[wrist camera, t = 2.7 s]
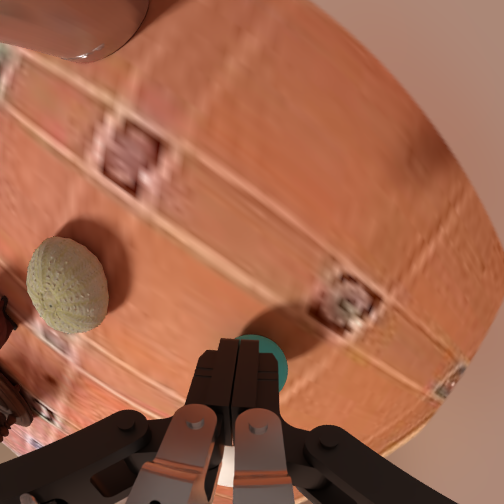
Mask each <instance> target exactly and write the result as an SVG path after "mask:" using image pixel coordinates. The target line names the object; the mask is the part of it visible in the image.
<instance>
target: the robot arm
mask: <svg viewBox="0 0 504 504" xmlns="http://www.w3.org/2000/svg"><path fill="white" fill-rule="evenodd" d="M148 3H149V0H0V42H1V43H6V44H10V45H15V46H19V47H23V48H27V49H31V50H35V51H39V52H42V53H46V54H49V55H53V56H56V57H60V58H61V59H64V60H70V61H73V62H76V63H89V62H94V61H97V60H100V59H102V58H105V57H106V56H108V55H110V54H112V53H113V52H115V51H116V50H117V49H119V48H120V47H121V46H123V45H124V44H125V43H126V42H127V41H128V40H129V39H130V38H131V37H132V36H133V34H134V33H135V32H136V30H137V29H138V28H139V26H140V24H141V23H142V21H143V19H144V17H145V14H146V12H147V9H148ZM232 440H233V445H234V446H235V458H234V478H233V504H295V502H294V494H293V486H296V488H297V489H298V490H299V491H300V492H301V493H302V494H303V495H304V496H305V497H306V498H307V499H308V500H310V501H311V502H312V503H313V504H457V503H456V502H454V501H452V500H451V499H449V498H447V497H445V496H444V495H442V494H440V493H438V492H437V491H435V490H433V489H432V488H430V487H428V486H427V485H425V484H423V483H422V482H420V481H419V480H417V479H415V478H414V477H412V476H410V475H409V474H408V473H406V472H404V471H403V470H401V469H400V468H398V467H397V466H395V465H393V464H392V463H391V462H389V461H388V460H386V459H385V458H383V457H382V456H380V455H379V454H377V453H376V452H375V451H373V450H372V449H370V448H369V447H367V446H366V445H365V444H363V443H362V442H360V441H359V440H358V439H356V438H355V437H353V436H352V435H351V434H349V433H348V432H347V431H345V430H344V429H342V428H340V427H338V426H334V425H322V426H318V427H316V428H314V429H313V430H311V431H306V430H302V429H298V428H295V427H293V426H290V425H289V424H287V423H286V422H285V421H284V420H283V419H282V417H281V415H280V411H279V374H278V361H277V359H276V358H275V356H274V355H273V353H259V340H248V339H241V341H240V339H225V338H221V339H220V343H219V347H218V351H215V350H206V351H205V352H204V353H203V354H202V355H201V356H200V357H199V360H198V363H197V366H196V369H195V373H194V377H193V379H192V382H191V386H190V389H189V392H188V396H187V399H186V402H185V405H184V406H183V407H181V408H179V409H178V410H177V411H176V412H175V414H174V415H173V416H172V417H169V418H165V419H156V420H147V419H146V417H145V416H144V415H143V414H141V413H140V412H138V411H135V410H122V411H118V412H116V413H114V414H112V415H110V416H108V417H106V418H104V419H102V420H100V421H98V422H96V423H94V424H92V425H90V426H88V427H86V428H84V429H82V430H79V431H77V432H75V433H73V434H71V435H69V436H66V437H64V438H62V439H60V440H58V441H55V442H53V443H51V444H49V445H46V446H44V447H42V448H39V449H37V450H34V451H32V452H30V453H27V454H25V455H22V456H20V457H17V458H15V459H12V460H9V461H7V462H4V463H1V464H0V504H115V503H117V502H119V501H121V500H122V499H124V498H126V497H128V498H127V501H126V503H125V504H212V503H213V499H214V495H215V491H216V487H217V483H218V479H219V475H220V471H221V467H222V459H223V454H224V447H225V446H232ZM292 485H293V486H292Z"/></svg>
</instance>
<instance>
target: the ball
mask: <svg viewBox="0 0 504 504" xmlns="http://www.w3.org/2000/svg"><path fill="white" fill-rule="evenodd" d="M235 339H240V341H241V339H248V340H259V353H273V355H274V356H275V358H276V359H277V361H278V374H279V392H280V391H281V390H282V388H283V386H284V384H285V382H286V379H287V375H288V365H287V360H286V357H285V355H284V353H283V351H282V350H281V349H280V347H279V346H278V345H277V344H276V343H274V342H273V341H272V340H270V339H268V338H266V337H263V336H260V335H243V336H239V337H237V338H235Z"/></svg>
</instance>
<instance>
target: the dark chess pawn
mask: <svg viewBox="0 0 504 504" xmlns="http://www.w3.org/2000/svg"><path fill="white" fill-rule="evenodd" d="M20 387H21V386H20V385H19V384H17V385H15V386H13V385H12V384H11V383H10V382H9V381H8V380H7V379H6V378H5V377H4V376H3V375H2V374H1V373H0V442H2V441H3V436H4V437H6V436H8V434H9V430H8V429H11V427H10V426H11V425H13V424H14V423H15V424H17V425H21V426H25V427H27V426H30V424H31V423H32V421H33V415H32V412H31V410H30V408H29V406H28V405H27V403H26V402H25V400H24V399H23V397H22V396H21V395H20V393H19V390H20ZM6 419H7V420H6Z"/></svg>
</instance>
